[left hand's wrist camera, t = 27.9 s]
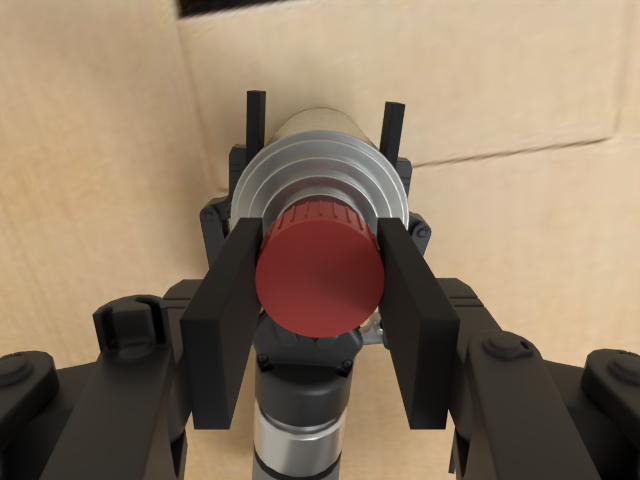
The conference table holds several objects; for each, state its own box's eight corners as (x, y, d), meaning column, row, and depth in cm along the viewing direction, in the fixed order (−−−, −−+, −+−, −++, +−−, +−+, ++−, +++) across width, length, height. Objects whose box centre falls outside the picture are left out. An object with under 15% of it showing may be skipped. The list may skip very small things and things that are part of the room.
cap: (240, 271, 15) (228, 300, 13) (301, 176, 13) (298, 191, 12) (335, 325, 15) (338, 359, 13) (401, 240, 14) (414, 263, 12)
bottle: (274, 103, 32) (196, 136, 12) (373, 112, 32) (463, 160, 12) (269, 200, 35) (200, 361, 15) (361, 208, 35) (418, 377, 15)
